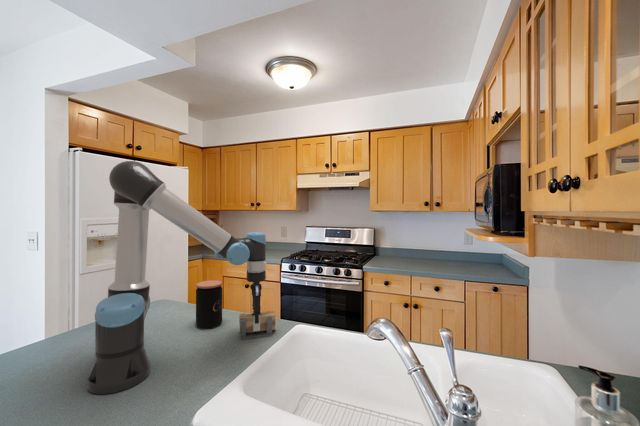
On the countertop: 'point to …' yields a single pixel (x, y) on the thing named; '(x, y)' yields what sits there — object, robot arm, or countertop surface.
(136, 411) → the countertop surface
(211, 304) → the coffee jar
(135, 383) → the robot arm
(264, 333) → the bracket
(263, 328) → the block
